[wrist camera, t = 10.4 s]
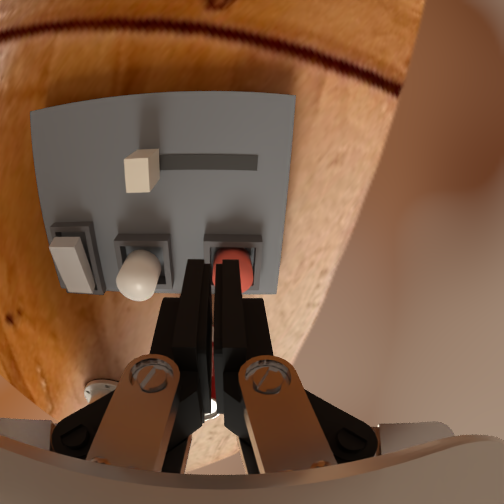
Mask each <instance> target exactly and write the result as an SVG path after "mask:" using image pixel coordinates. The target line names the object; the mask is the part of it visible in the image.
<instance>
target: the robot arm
mask: <svg viewBox="0 0 504 504" xmlns="http://www.w3.org/2000/svg"><path fill="white" fill-rule="evenodd" d="M213 353H214V374H215V392H216V408H217V414H224V425H225V427H226V428H228V429H229V430H230V431H232V432H233V433H234V434H236V435H237V443H238V447H239V450H240V454H241V458H242V462H243V466H244V470H245V473H246V475H193V474H184V473H185V468H186V464H187V459H188V455H189V450H190V446H191V441H192V433H193V432H195V431H196V430H197V429H199V428H200V427H201V426H202V423H204V418H205V414H211V386H212V296H211V264H205V261H204V259H188V260H187V265H186V270H185V275H184V280H183V285H182V291H181V296H180V298H167V297H164V298H163V300H162V304H161V308H160V312H159V316H158V320H157V324H156V328H155V333H154V337H153V341H152V346H151V350H150V354H148V355H142V356H140V357H138V358H135V359H134V360H133V361H131V362H130V363H129V364H128V365H127V367H126V368H125V370H124V372H123V374H122V376H121V378H120V380H119V382H116V381H111V380H102V379H100V380H93V381H90V382H89V383H88V384H87V385H86V387H85V389H84V395H85V398H86V400H87V401H88V402H89V405H87V406H85V407H84V408H82V409H80V410H78V411H77V412H75V413H73V414H71V415H69V416H68V417H66V418H64V419H63V420H61V421H60V422H59V423H58V424H54V423H53V422H52V421H51V420H25V419H9V418H0V504H504V440H502V439H500V438H498V437H494V436H488V435H460V436H454V433H453V431H452V430H451V429H450V428H449V427H448V426H447V425H445V424H444V423H441V422H420V423H396V424H379V425H378V426H377V427H370V426H369V425H367V424H366V423H364V422H363V421H361V420H359V419H357V418H355V417H353V416H351V415H349V414H348V413H346V412H344V411H342V410H340V409H338V408H337V407H335V406H333V405H331V404H329V403H328V402H326V401H324V400H322V399H321V398H319V397H317V396H315V395H314V394H312V393H310V392H308V391H307V390H305V389H304V388H303V386H302V383H301V381H300V379H299V377H298V374H297V372H296V370H295V369H294V367H293V366H292V365H291V364H290V363H289V362H287V361H286V360H284V359H282V358H279V357H276V356H273V350H272V345H271V339H270V334H269V328H268V323H267V317H266V312H265V306H264V301H263V299H262V298H242V290H241V278H240V267H239V259H222V264H216V272H215V299H214V335H213Z"/></svg>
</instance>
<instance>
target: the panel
mask: <svg viewBox="0 0 504 504" xmlns="http://www.w3.org/2000/svg"><path fill="white" fill-rule="evenodd" d="M295 100H296V95H286V94H274V93H259V92H237V91H183V92H161V93H146V94H134V95H124V96H115V97H107V98H100V99H93V100H86V101H80V102H74V103H69V104H63V105H58V106H53V107H48V108H44V109H39V110H35V111H31V112H30V122H31V137H32V148H33V158H34V166H35V174H36V181H37V187H38V193H39V199H40V204H41V210H42V215H43V220H44V224H45V229H46V233H47V238H48V242H49V246H50V244H51V242H52V241H53V239H54V237H80V239H81V242H82V245H83V248H84V251H85V253H86V256H87V259H88V262H89V265H90V267H91V270H92V273H93V276H94V278H95V281H96V285H95V288H94V291H93V293H79V294H96V295H104V293H105V291H119V289H118V287H117V284H116V278H117V275H118V273H119V271H120V269H121V267H122V265H123V263H124V261H125V259H126V258H127V256H128V255H129V254H130V253H131V252H133V251H135V250H146V251H149V252H151V253H152V254H154V255H155V256H156V257H157V258H158V260H159V262H160V264H161V272H160V276H159V279H158V282H157V285H156V288H155V292H154V293H181V291H182V285H183V280H184V275H185V270H186V265H187V260H188V259H204V261H205V264H211V294H215V286H214V284H213V280H212V276H213V261H214V256H215V254H216V252H217V251H218V250H219V249H220V248H221V247H239V248H245V249H246V250H247V251H248V252H249V254H250V257H251V263H252V271H253V283H252V285H251V286H250V288H249V289H248V290H247V291H245V292H243V293H242V294H276V293H277V284H278V276H279V267H280V259H281V250H282V241H283V231H284V222H285V212H286V202H287V192H288V182H289V171H290V160H291V149H292V138H293V126H294V113H295ZM140 149H159V168H160V179H159V181H158V182H157V183H156V185H155V186H154V187H153V189H152V190H151V191H150V192H142V193H126V183H125V170H124V159H125V158H126V157H128V156H129V155H130V154H132V153H133V152H135V151H136V150H140ZM52 257H53V256H52ZM53 261H54V259H53ZM54 265H55V268H56V272H57V275H58V279H59V282H60V285H61V288H66V285H65V283H64V281H63V279H62V277H61V275H60V272H59V270H58V268H57V266H56V263H55V261H54ZM66 291H67V293H77V292H68V290H67V288H66Z"/></svg>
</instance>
